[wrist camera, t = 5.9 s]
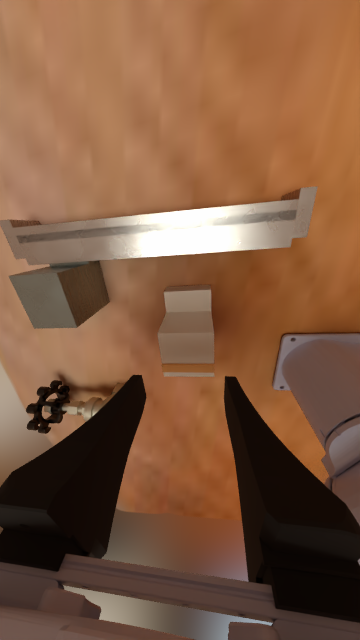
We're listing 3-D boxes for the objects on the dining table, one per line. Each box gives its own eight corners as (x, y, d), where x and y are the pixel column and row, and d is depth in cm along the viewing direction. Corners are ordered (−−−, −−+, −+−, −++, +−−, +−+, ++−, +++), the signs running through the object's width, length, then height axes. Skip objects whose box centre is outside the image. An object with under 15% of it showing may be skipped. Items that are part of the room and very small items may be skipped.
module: (210, 284, 18) (214, 307, 13) (210, 339, 21) (214, 378, 16) (166, 286, 19) (152, 310, 13) (173, 340, 22) (163, 377, 16)
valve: (136, 375, 25) (56, 370, 26) (116, 419, 19) (15, 410, 20) (141, 407, 28) (69, 401, 29) (125, 454, 22) (36, 444, 23)
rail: (295, 194, 14) (352, 173, 9) (278, 295, 18) (311, 323, 13) (29, 222, 17) (-47, 218, 12) (61, 304, 21) (13, 328, 16)
